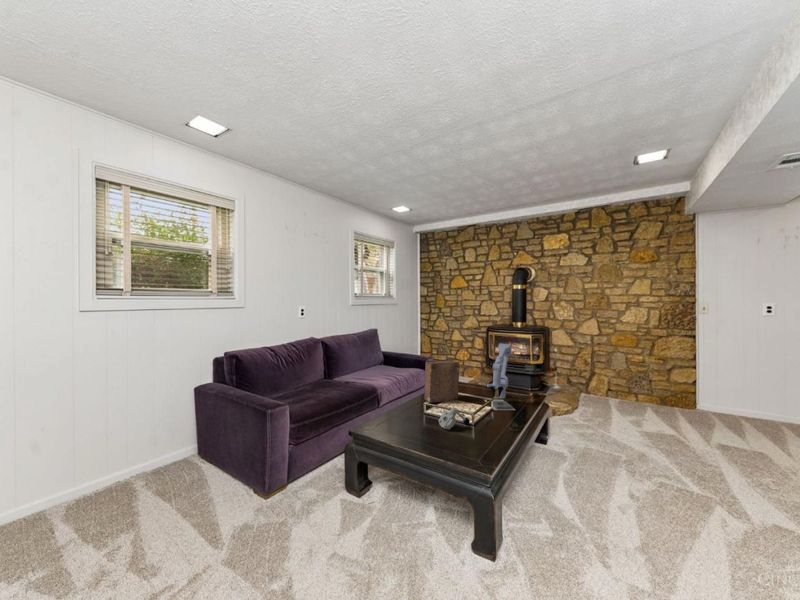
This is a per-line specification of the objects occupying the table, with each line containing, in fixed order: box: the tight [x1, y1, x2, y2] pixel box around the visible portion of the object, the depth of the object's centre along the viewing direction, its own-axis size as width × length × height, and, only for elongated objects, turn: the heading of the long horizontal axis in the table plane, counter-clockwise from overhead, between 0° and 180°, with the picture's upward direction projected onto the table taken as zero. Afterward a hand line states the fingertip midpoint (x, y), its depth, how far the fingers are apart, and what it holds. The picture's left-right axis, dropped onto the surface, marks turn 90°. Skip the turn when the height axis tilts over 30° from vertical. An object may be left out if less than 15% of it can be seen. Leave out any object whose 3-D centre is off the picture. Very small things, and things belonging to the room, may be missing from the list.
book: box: [423, 359, 460, 404], centre depth 261 cm, size 25×9×30 cm, turn 115°
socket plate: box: [483, 399, 516, 411], centre depth 253 cm, size 22×16×3 cm
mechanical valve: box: [438, 406, 471, 431], centre depth 212 cm, size 10×18×15 cm
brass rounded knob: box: [492, 387, 500, 400], centre depth 259 cm, size 4×4×8 cm
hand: (496, 396), depth 259 cm, fingers closed on brass rounded knob, 4 cm apart
